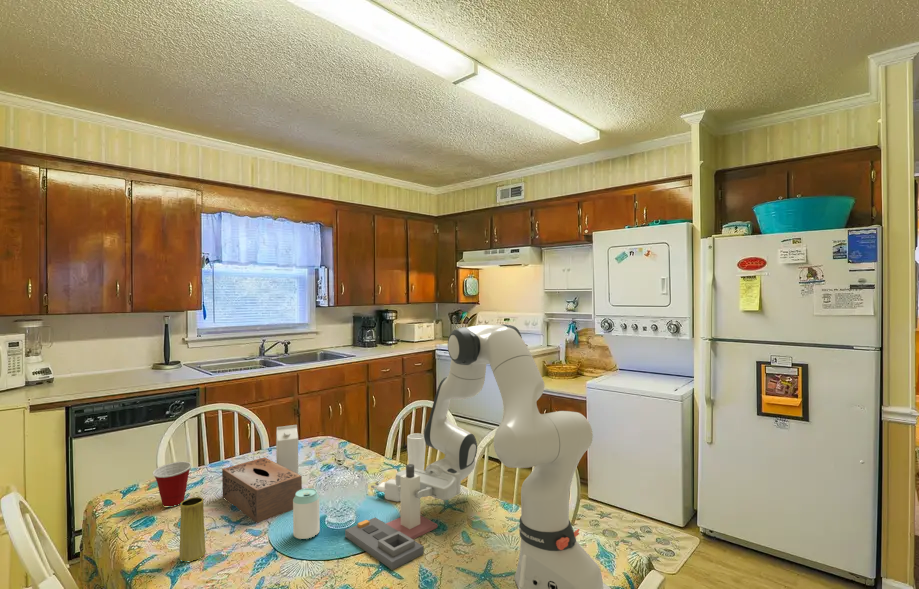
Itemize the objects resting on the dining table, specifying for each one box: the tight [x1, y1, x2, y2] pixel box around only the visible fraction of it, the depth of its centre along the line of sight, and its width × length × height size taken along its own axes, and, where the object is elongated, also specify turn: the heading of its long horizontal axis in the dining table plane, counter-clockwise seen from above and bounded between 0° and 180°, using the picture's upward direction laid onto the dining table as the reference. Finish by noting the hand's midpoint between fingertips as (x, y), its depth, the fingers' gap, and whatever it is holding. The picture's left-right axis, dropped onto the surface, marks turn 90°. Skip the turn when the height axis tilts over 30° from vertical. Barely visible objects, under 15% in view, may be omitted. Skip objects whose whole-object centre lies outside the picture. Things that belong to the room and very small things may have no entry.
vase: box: [178, 496, 207, 562], centre depth 121 cm, size 6×6×14 cm
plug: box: [400, 463, 421, 529], centre depth 134 cm, size 4×4×17 cm
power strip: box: [344, 517, 425, 571], centre depth 125 cm, size 22×10×4 cm, turn 44°
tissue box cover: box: [221, 456, 303, 524], centre depth 152 cm, size 26×14×10 cm, turn 48°
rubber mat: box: [386, 514, 438, 540], centre depth 134 cm, size 11×11×1 cm
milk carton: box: [275, 424, 299, 474], centre depth 172 cm, size 7×7×19 cm
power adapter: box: [370, 478, 401, 502], centre depth 154 cm, size 11×5×6 cm, turn 67°
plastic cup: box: [152, 461, 192, 506], centre depth 151 cm, size 11×11×12 cm
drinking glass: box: [406, 432, 427, 471], centre depth 172 cm, size 7×7×15 cm
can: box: [292, 487, 321, 540], centre depth 131 cm, size 7×7×12 cm
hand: (408, 492), depth 133 cm, fingers open, 5 cm apart
